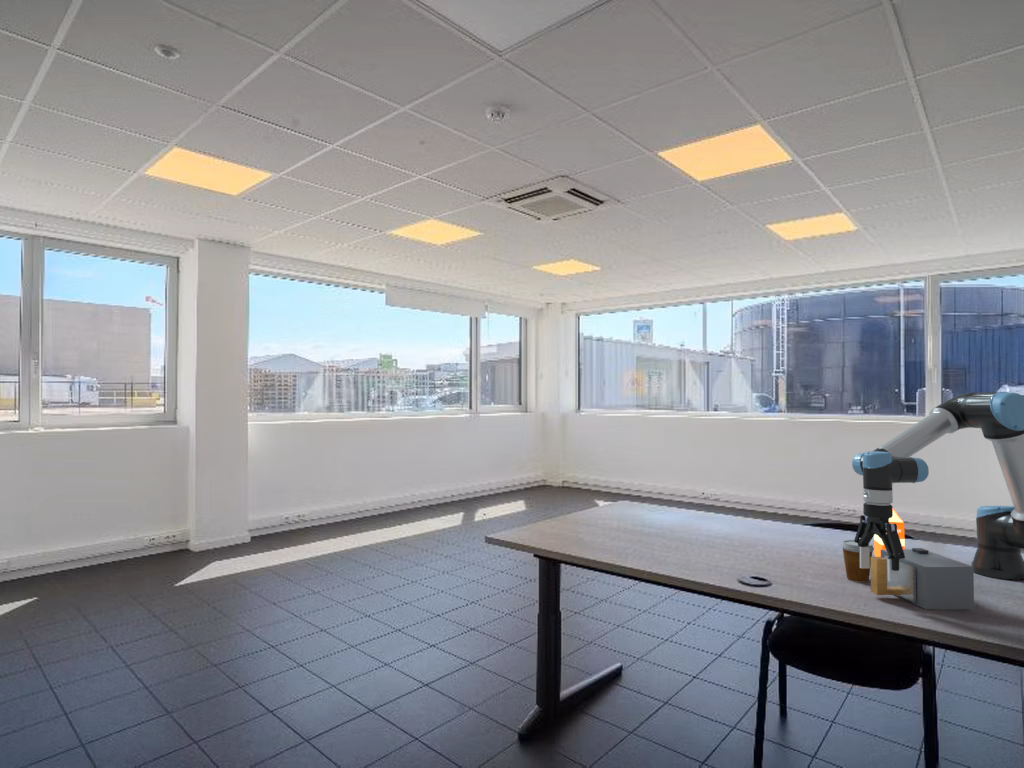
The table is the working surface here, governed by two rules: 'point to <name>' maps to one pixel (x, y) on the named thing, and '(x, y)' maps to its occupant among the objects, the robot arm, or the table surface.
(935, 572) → the open-sided grey enclosure
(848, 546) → the disposable coffee cup
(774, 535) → the table surface
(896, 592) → the side cover
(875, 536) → the orange juice
